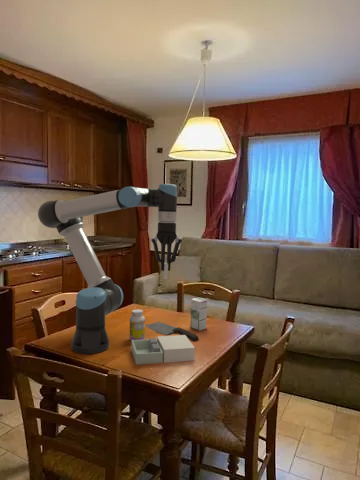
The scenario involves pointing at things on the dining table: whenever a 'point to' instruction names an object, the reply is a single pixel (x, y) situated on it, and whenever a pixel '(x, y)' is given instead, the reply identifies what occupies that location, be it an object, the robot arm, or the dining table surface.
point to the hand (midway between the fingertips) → (165, 278)
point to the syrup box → (198, 313)
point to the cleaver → (171, 330)
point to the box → (145, 353)
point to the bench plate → (176, 348)
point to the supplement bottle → (137, 325)
